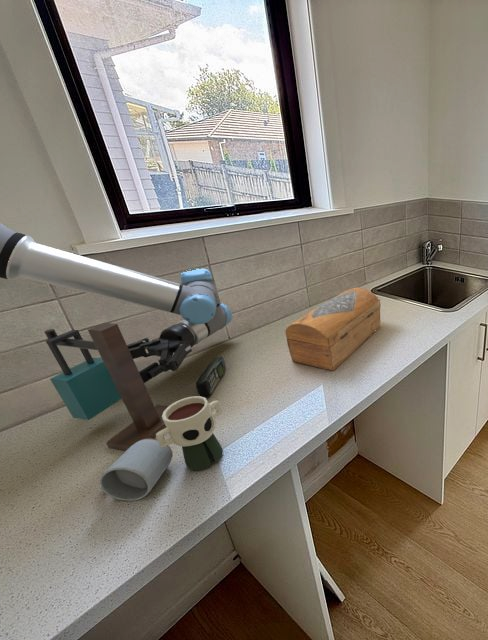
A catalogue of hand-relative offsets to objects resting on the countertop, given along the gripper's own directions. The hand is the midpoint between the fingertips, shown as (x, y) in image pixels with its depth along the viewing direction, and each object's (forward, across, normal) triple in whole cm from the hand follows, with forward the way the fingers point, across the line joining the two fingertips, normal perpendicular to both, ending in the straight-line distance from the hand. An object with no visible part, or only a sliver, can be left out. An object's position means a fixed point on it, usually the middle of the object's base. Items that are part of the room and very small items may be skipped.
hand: (105, 380), depth 74 cm
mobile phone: (-15, -12, -10) cm, 22 cm away
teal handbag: (+3, 0, -5) cm, 6 cm away
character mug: (+8, -29, -10) cm, 32 cm away
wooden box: (-41, -36, -10) cm, 55 cm away
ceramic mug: (+15, -21, -10) cm, 28 cm away
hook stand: (+3, -5, -10) cm, 11 cm away
